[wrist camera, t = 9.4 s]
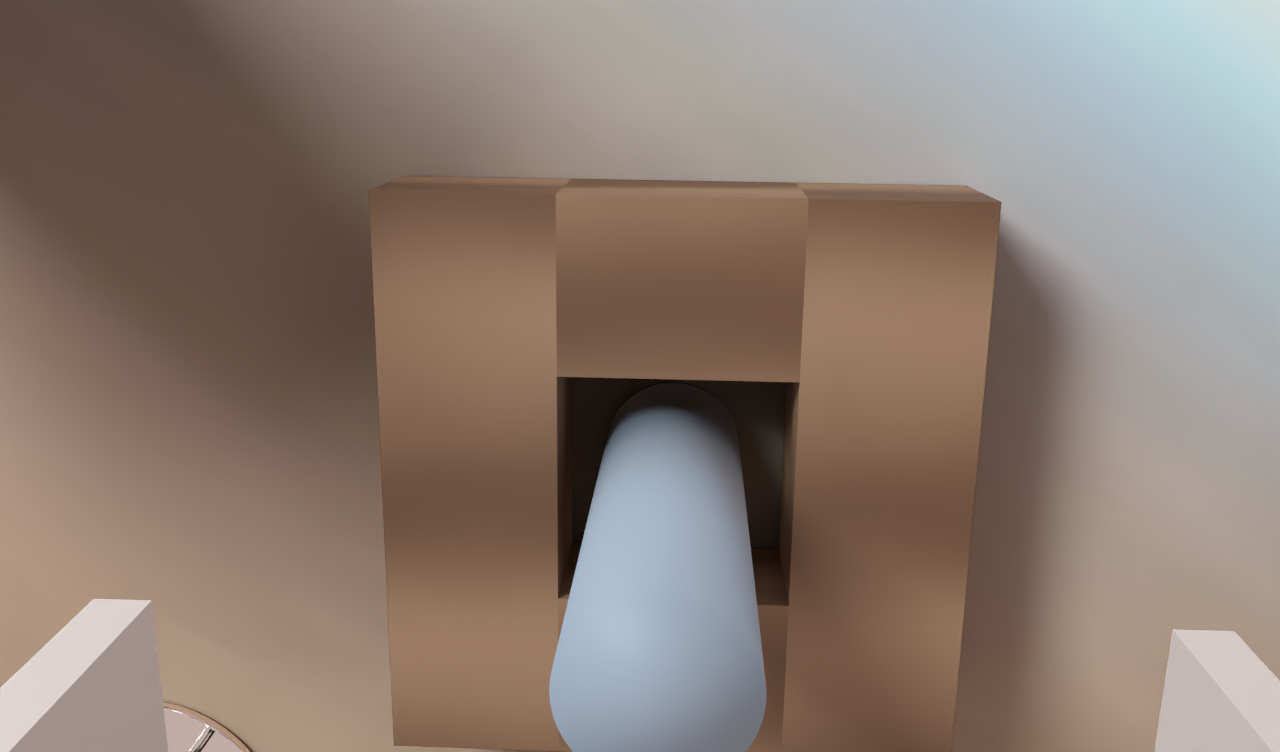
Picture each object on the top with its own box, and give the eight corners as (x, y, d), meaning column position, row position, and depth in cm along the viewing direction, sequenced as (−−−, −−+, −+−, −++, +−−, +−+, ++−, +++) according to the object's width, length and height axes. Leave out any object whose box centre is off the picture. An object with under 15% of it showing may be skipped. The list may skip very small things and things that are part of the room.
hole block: (405, 176, 26) (368, 190, 23) (965, 186, 25) (1001, 202, 22) (424, 676, 29) (393, 745, 26) (923, 693, 28) (950, 765, 25)
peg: (607, 380, 27) (548, 590, 16) (741, 384, 27) (771, 598, 16) (605, 506, 27) (548, 785, 17) (736, 510, 27) (761, 794, 17)
